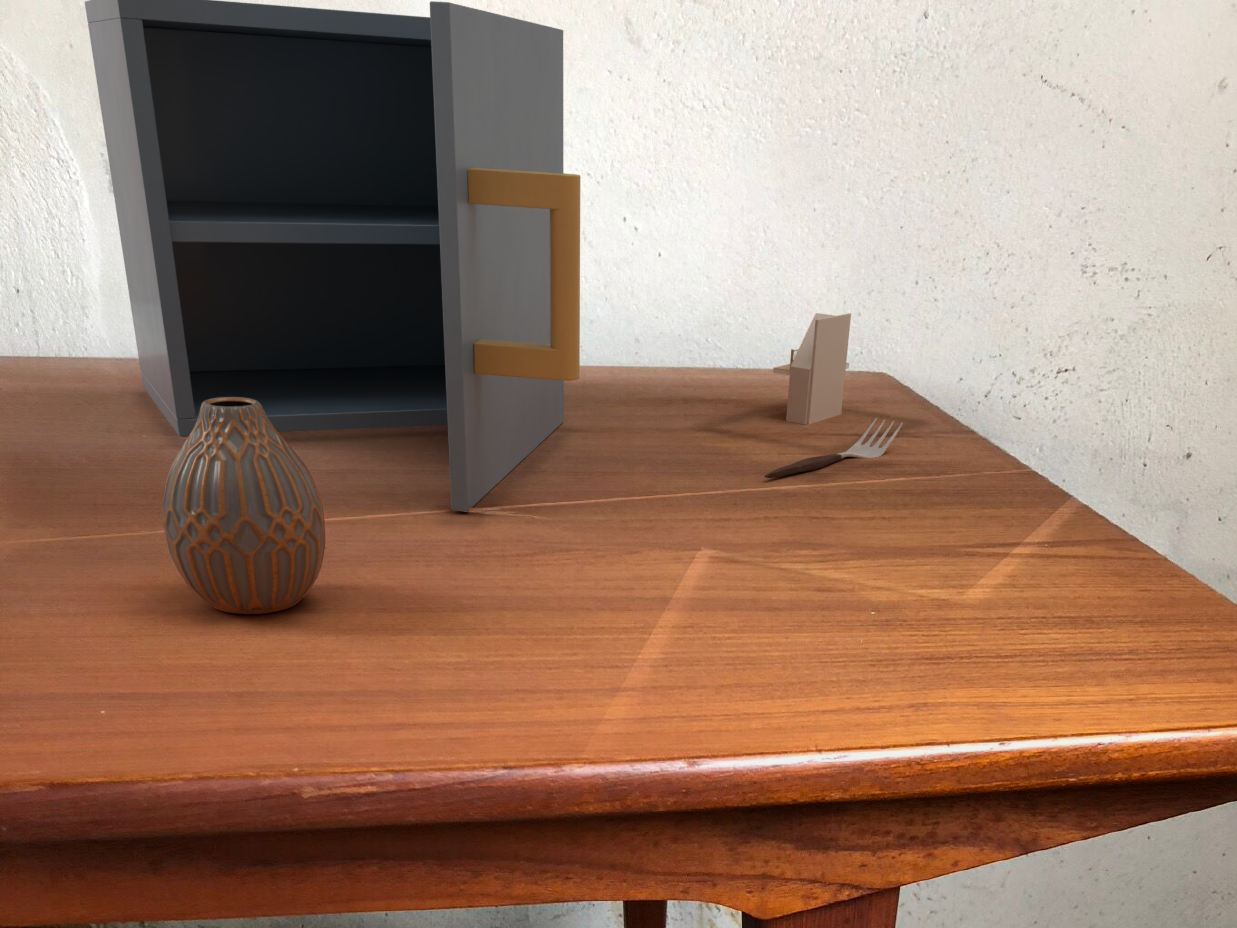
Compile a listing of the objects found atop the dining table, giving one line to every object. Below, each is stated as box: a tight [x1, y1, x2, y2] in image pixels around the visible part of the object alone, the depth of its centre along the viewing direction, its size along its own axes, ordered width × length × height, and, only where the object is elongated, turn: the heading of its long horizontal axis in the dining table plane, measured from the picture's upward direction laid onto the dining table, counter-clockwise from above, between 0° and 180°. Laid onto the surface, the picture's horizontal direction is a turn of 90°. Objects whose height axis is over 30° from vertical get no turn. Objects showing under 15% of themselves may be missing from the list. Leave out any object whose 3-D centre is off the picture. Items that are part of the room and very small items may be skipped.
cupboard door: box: [429, 0, 581, 512], centre depth 83 cm, size 7×26×24 cm, turn 173°
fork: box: [763, 417, 904, 479], centre depth 93 cm, size 3×16×2 cm, turn 144°
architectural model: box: [772, 312, 852, 425], centre depth 105 cm, size 3×7×7 cm, turn 148°
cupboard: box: [84, 0, 448, 438], centre depth 96 cm, size 18×26×24 cm
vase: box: [162, 397, 326, 615], centre depth 61 cm, size 7×7×9 cm
